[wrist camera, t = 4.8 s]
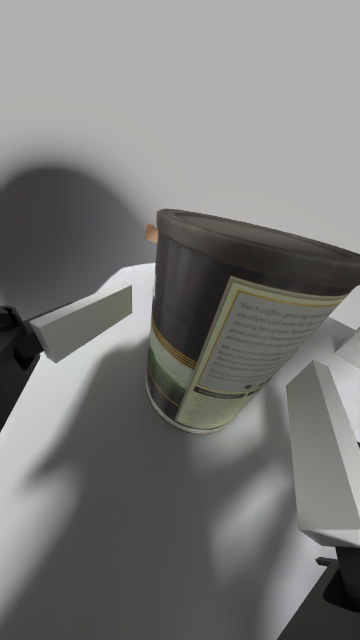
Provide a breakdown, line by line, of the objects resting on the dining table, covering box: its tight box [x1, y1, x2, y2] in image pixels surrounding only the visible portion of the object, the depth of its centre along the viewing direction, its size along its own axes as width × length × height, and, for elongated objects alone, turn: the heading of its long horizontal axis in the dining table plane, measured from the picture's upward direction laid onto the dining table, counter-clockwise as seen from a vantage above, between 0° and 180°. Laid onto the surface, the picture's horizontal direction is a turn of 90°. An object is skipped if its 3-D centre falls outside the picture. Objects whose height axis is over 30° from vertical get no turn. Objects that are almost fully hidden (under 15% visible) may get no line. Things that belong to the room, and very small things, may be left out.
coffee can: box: [145, 209, 360, 434], centre depth 13 cm, size 10×10×14 cm
